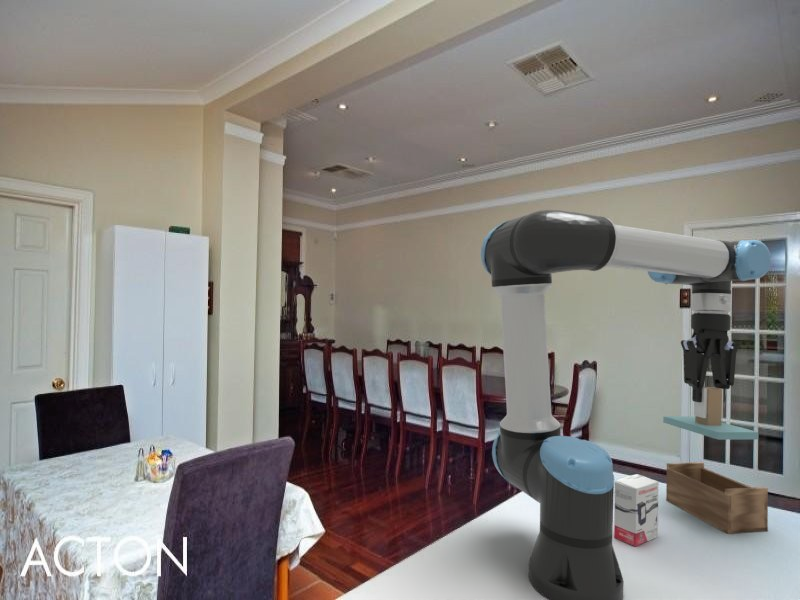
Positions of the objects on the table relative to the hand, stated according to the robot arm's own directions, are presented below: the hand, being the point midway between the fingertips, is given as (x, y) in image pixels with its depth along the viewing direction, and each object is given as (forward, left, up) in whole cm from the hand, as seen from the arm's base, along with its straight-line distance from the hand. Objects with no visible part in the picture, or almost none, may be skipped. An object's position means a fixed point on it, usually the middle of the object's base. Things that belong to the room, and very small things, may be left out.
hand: (708, 416), depth 107 cm
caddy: (+5, +4, -24) cm, 24 cm away
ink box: (-21, -4, -24) cm, 32 cm away
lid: (0, 0, -3) cm, 3 cm away
